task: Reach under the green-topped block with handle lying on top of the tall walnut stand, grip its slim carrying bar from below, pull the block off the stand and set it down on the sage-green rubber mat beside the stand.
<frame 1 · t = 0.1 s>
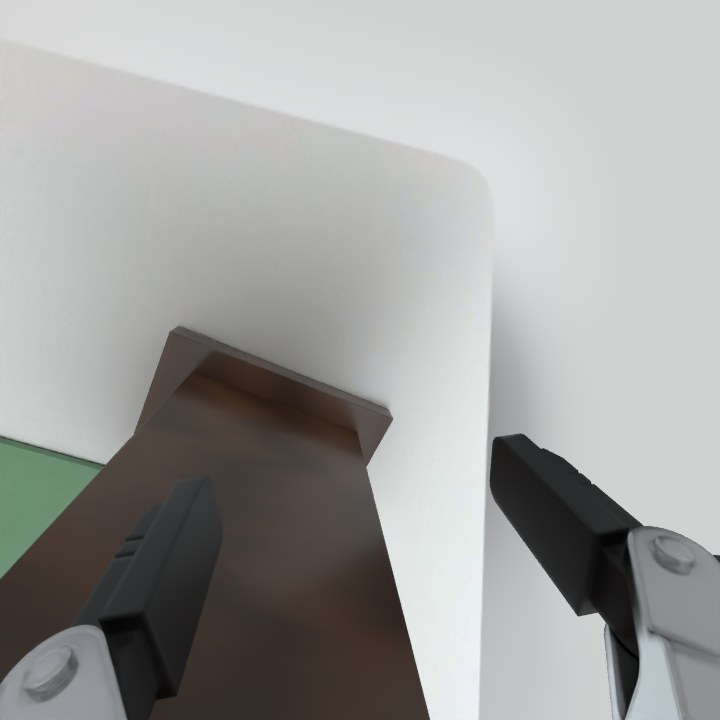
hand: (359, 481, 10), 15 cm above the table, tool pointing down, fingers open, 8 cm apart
stand: (256, 449, 26), on the table
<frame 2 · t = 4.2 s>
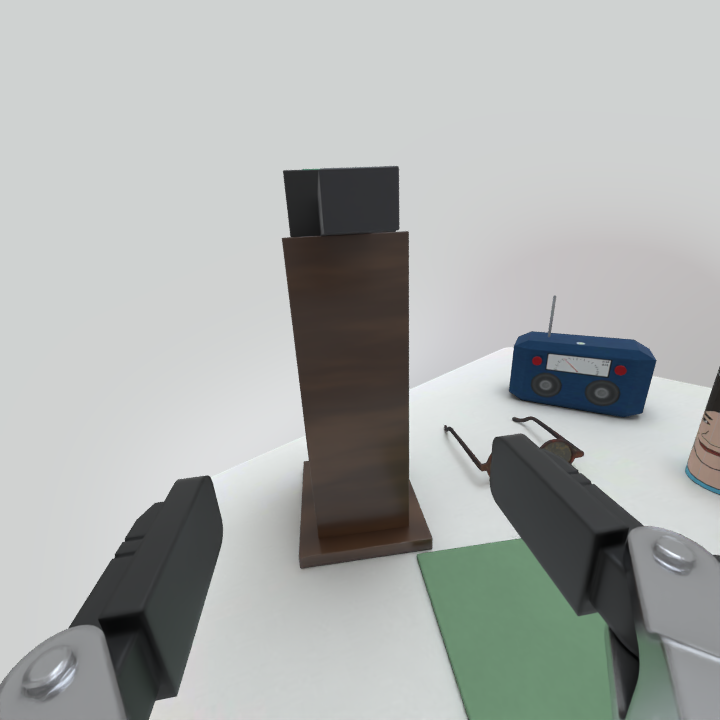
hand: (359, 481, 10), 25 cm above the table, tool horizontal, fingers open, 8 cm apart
green-topped block with handle: (340, 235, 33), point 32 cm above the table, touching stand
radio: (569, 402, 65), on the table
stand: (358, 503, 43), on the table
eyeglasses: (501, 448, 53), on the table
mat: (535, 626, 29), on the table
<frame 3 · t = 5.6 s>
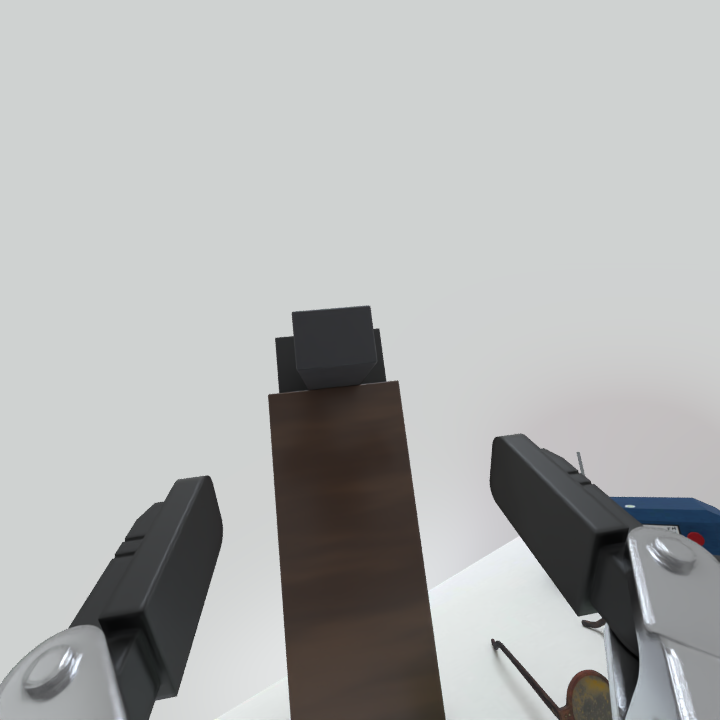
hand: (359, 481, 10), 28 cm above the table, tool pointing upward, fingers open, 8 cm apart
green-topped block with handle: (333, 395, 33), point 32 cm above the table, touching stand
radio: (649, 592, 50), on the table
eyeglasses: (581, 676, 36), on the table
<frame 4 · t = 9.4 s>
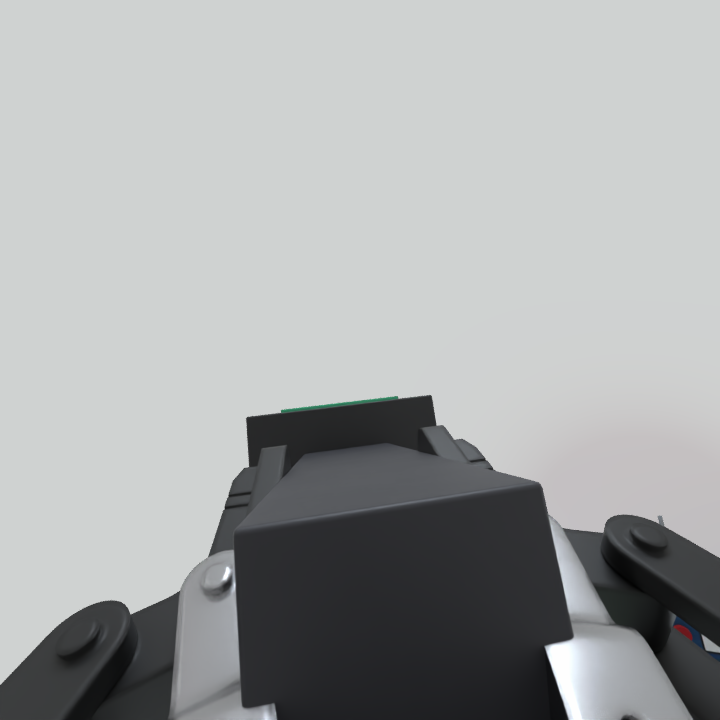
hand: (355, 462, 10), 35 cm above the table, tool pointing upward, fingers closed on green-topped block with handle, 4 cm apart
green-topped block with handle: (348, 496, 20), point 32 cm above the table, touching gripper, stand
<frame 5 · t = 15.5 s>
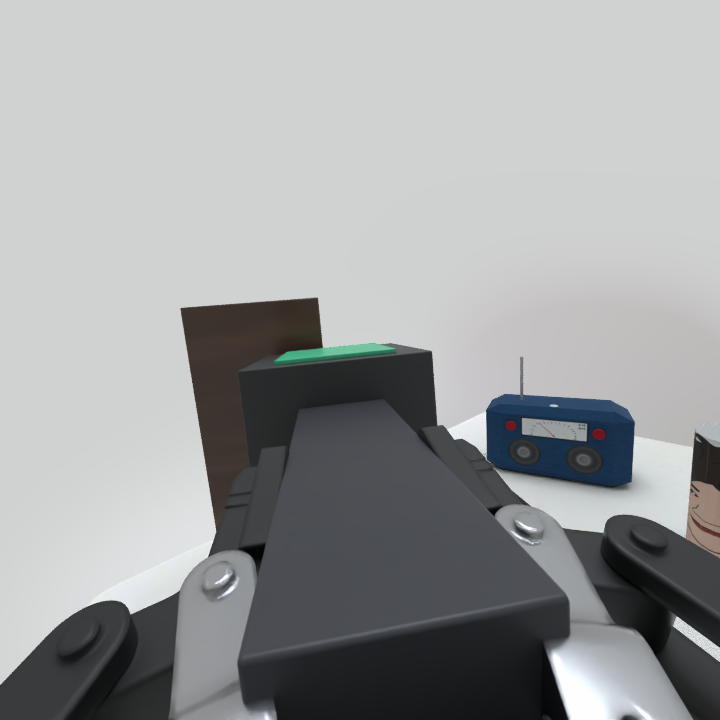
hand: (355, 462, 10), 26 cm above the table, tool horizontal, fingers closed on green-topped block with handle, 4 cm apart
green-topped block with handle: (341, 435, 21), point 23 cm above the table, touching gripper
radio: (552, 470, 60), on the table
stand: (300, 606, 36), on the table
when the fingers open (7 cm above the table, at t = 21.4 s): green-topped block with handle drops 2 cm, resting on mat.
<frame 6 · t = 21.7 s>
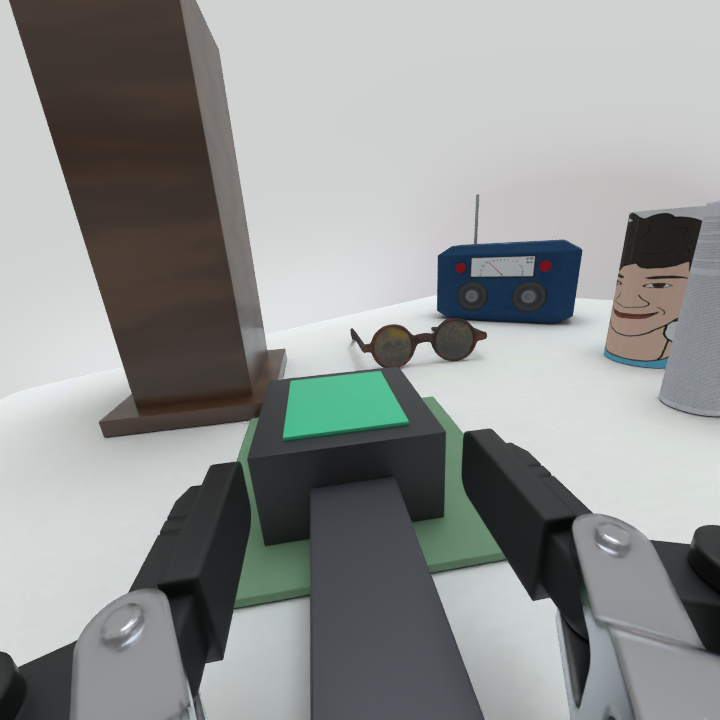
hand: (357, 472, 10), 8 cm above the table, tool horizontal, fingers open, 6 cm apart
green-topped block with handle: (347, 474, 21), resting on mat
bottle: (693, 406, 27), on the table
radio: (500, 318, 59), on the table
stand: (216, 389, 36), on the table
printed can: (640, 358, 38), on the table
eyeglasses: (407, 348, 46), on the table
mat: (357, 468, 22), on the table
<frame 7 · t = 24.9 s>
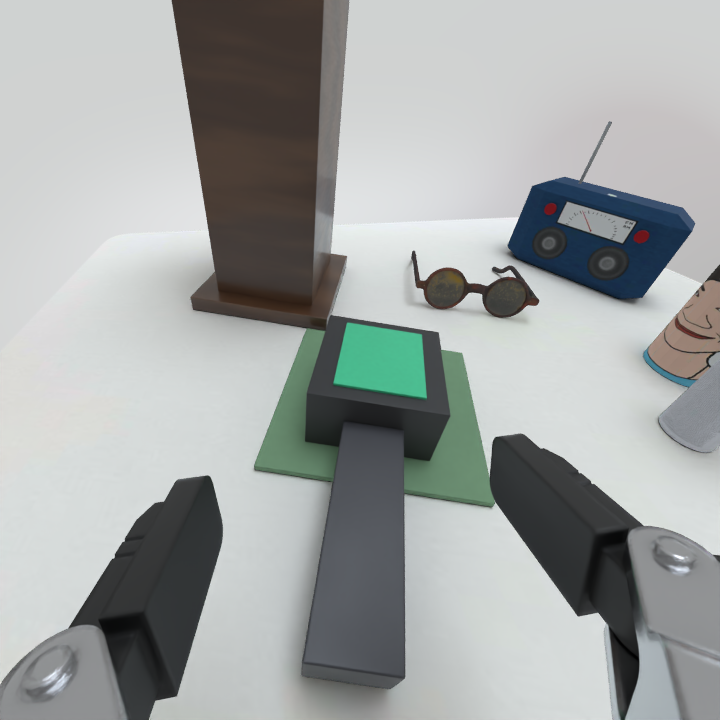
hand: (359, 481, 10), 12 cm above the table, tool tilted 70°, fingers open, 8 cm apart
green-topped block with handle: (371, 405, 27), resting on mat
bottle: (683, 433, 31), on the table
radio: (569, 273, 56), on the table
stand: (280, 284, 41), on the table
printed can: (675, 369, 38), on the table
eyeglasses: (460, 287, 48), on the table
mat: (379, 401, 29), on the table
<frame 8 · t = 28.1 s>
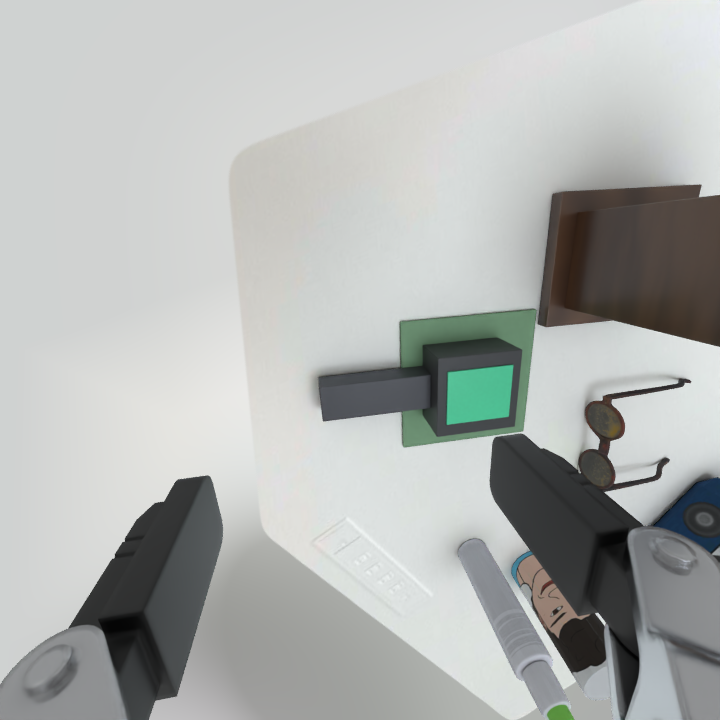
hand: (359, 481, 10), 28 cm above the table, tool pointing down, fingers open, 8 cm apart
green-topped block with handle: (459, 377, 40), resting on mat
bottle: (471, 548, 51), on the table
radio: (667, 526, 55), on the table
stand: (609, 258, 39), on the table
printed can: (530, 565, 54), on the table
eyeglasses: (628, 427, 47), on the table
mat: (465, 380, 41), on the table
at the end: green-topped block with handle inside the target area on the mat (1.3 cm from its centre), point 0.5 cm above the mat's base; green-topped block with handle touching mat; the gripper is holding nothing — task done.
